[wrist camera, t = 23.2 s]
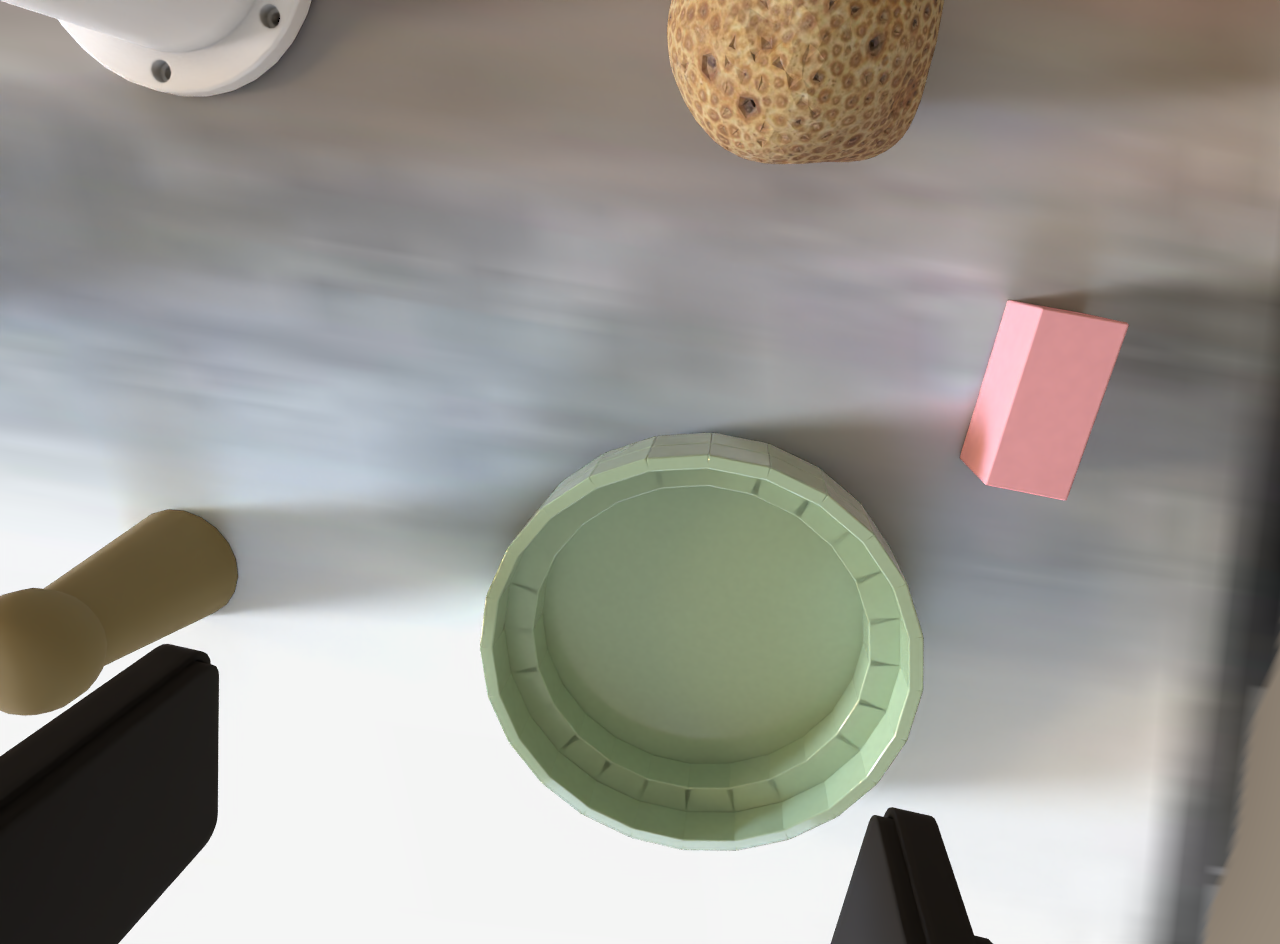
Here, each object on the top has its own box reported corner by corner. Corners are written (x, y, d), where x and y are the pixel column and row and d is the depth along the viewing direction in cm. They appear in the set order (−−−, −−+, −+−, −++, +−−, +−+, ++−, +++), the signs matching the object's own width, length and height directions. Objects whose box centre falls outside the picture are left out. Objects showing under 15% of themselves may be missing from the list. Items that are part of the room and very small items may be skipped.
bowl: (535, 394, 37) (507, 414, 32) (953, 475, 35) (982, 508, 31) (489, 741, 42) (461, 798, 38) (847, 823, 41) (859, 891, 37)
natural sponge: (712, -95, 30) (697, -248, 21) (943, -49, 30) (1037, -185, 20) (661, 155, 33) (628, 121, 23) (872, 201, 32) (925, 185, 23)
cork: (239, 523, 40) (63, 623, 30) (236, 627, 42) (68, 755, 32) (129, 498, 41) (-83, 588, 30) (130, 602, 43) (-69, 720, 32)
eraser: (1007, 299, 33) (1041, 307, 29) (1085, 313, 33) (1130, 323, 29) (958, 458, 35) (984, 485, 31) (1031, 472, 35) (1067, 501, 31)
